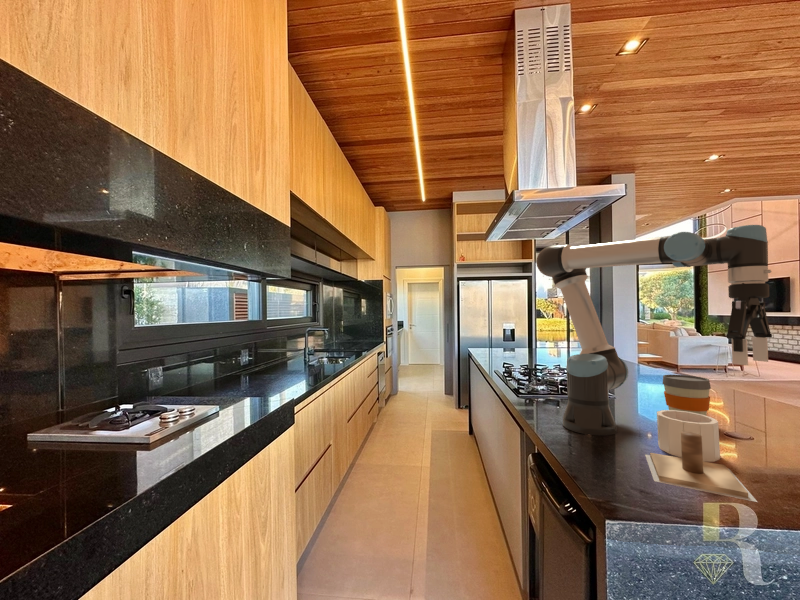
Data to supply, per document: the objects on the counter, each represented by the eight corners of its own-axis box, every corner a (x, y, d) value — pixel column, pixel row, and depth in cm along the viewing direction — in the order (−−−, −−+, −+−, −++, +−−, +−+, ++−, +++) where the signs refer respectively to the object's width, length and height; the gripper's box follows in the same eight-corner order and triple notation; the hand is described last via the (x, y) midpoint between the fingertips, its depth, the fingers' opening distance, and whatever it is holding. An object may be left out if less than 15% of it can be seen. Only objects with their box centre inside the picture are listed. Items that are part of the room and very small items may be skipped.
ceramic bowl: (663, 456, 85) (661, 419, 85) (655, 441, 95) (654, 408, 96) (726, 467, 79) (724, 426, 79) (711, 449, 89) (709, 414, 89)
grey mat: (654, 482, 72) (654, 481, 72) (644, 455, 85) (644, 454, 85) (758, 504, 63) (757, 501, 63) (729, 470, 77) (729, 468, 77)
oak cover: (659, 480, 72) (657, 438, 72) (650, 456, 84) (648, 421, 84) (748, 498, 65) (745, 451, 65) (724, 469, 77) (722, 430, 77)
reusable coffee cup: (707, 419, 114) (705, 376, 115) (717, 430, 103) (715, 382, 104) (661, 414, 121) (659, 373, 122) (666, 423, 110) (664, 378, 111)
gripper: (748, 280, 79) (751, 368, 78) (785, 284, 90) (788, 361, 90) (708, 282, 86) (711, 363, 85) (747, 286, 97) (749, 358, 96)
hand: (750, 362), depth 87 cm, fingers open, 13 cm apart
